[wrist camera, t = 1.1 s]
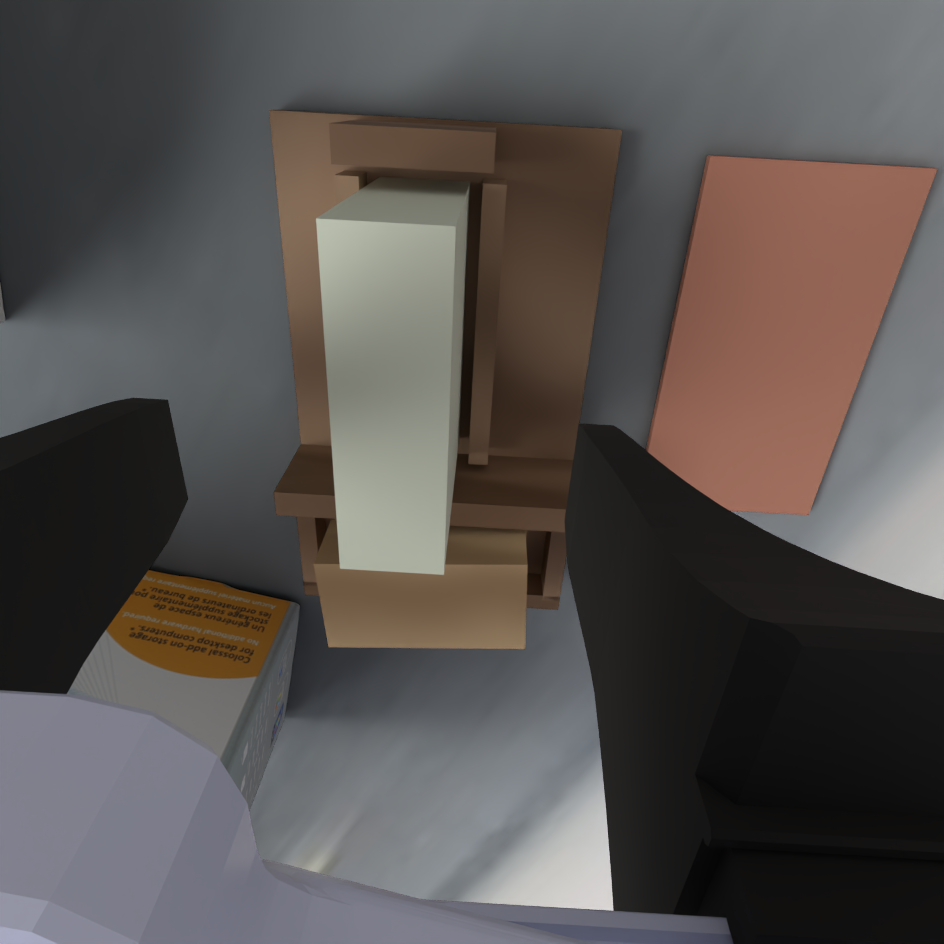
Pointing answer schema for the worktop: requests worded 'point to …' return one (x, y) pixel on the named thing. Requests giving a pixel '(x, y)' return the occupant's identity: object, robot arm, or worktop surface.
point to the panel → (394, 367)
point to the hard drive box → (201, 666)
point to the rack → (486, 308)
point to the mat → (778, 322)
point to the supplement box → (1, 308)
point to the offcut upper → (430, 596)
